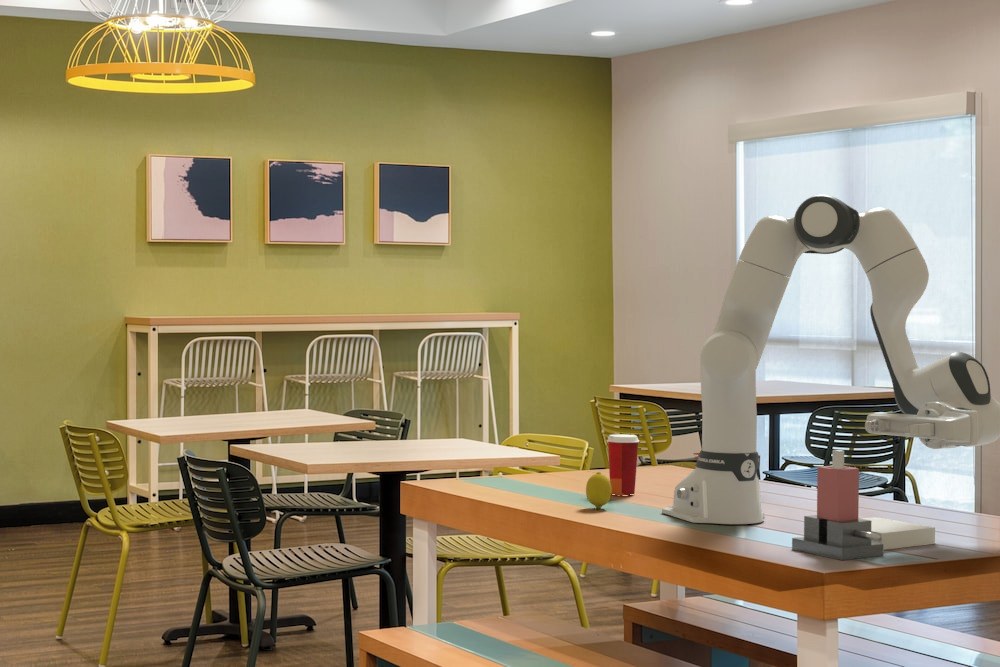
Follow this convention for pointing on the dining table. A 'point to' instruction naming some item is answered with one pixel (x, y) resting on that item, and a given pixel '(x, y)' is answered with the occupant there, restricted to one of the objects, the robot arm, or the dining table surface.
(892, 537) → the block
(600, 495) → the lemon
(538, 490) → the dining table surface
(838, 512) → the sleeve
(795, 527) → the dining table surface
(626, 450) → the paper cup
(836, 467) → the vise
